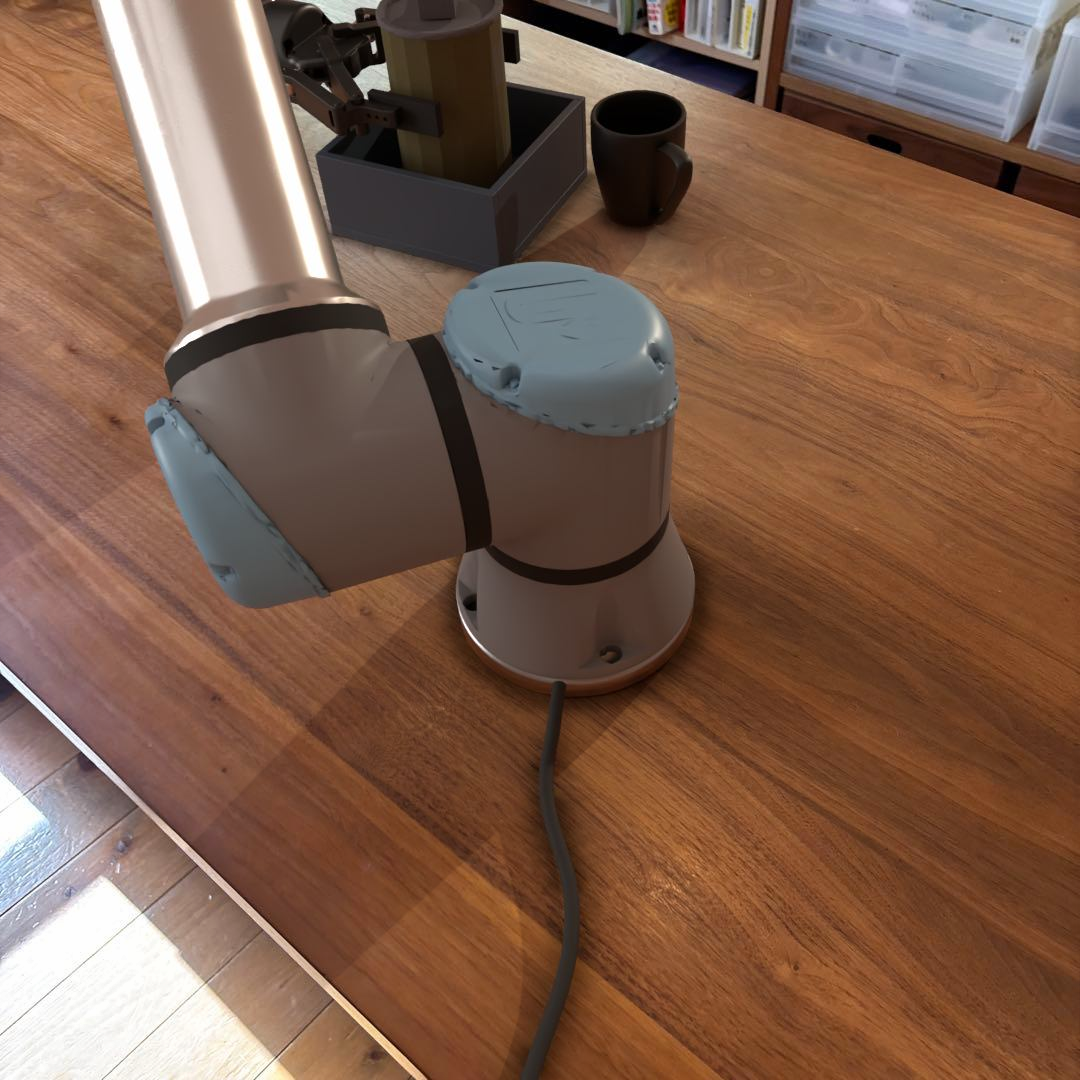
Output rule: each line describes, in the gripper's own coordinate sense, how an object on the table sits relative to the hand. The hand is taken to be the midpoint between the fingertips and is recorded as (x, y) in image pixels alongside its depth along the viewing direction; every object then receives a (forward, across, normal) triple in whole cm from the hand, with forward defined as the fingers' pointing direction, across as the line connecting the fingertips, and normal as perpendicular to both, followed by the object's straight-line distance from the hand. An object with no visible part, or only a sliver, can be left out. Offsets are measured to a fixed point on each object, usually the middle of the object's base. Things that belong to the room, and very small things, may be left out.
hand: (480, 82), depth 93 cm
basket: (-3, 0, +12) cm, 13 cm away
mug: (+14, +4, +13) cm, 19 cm away
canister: (-3, 0, +12) cm, 12 cm away
